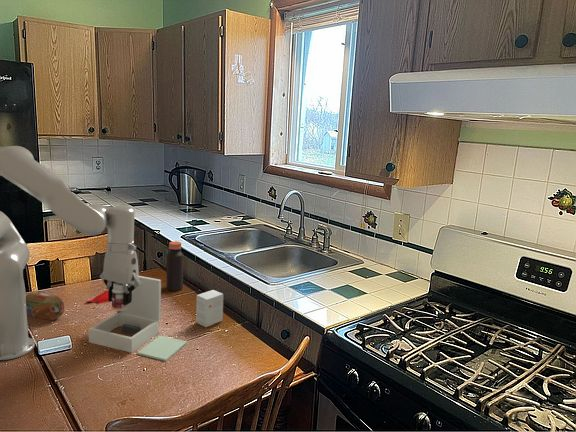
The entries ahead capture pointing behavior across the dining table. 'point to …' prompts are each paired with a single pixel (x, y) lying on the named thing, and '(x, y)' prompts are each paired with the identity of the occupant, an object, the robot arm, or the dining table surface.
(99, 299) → the cloth
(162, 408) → the dining table surface
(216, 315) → the small box
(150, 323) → the equipment case
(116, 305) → the pill bottle
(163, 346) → the mat
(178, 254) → the vinegar
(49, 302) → the tin
